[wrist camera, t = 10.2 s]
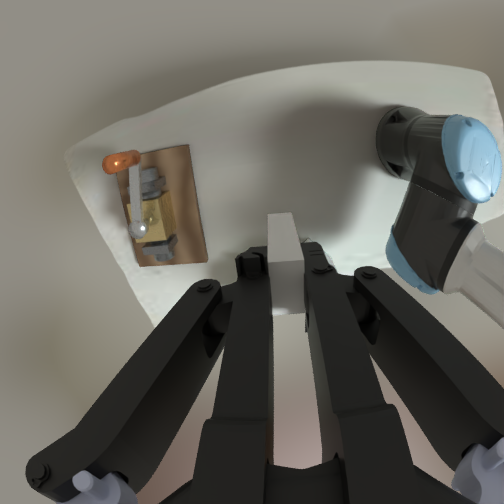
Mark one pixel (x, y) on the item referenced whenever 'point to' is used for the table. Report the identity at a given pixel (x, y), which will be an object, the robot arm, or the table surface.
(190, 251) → the mounting board
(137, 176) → the lever
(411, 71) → the table surface
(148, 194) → the valve pipe
